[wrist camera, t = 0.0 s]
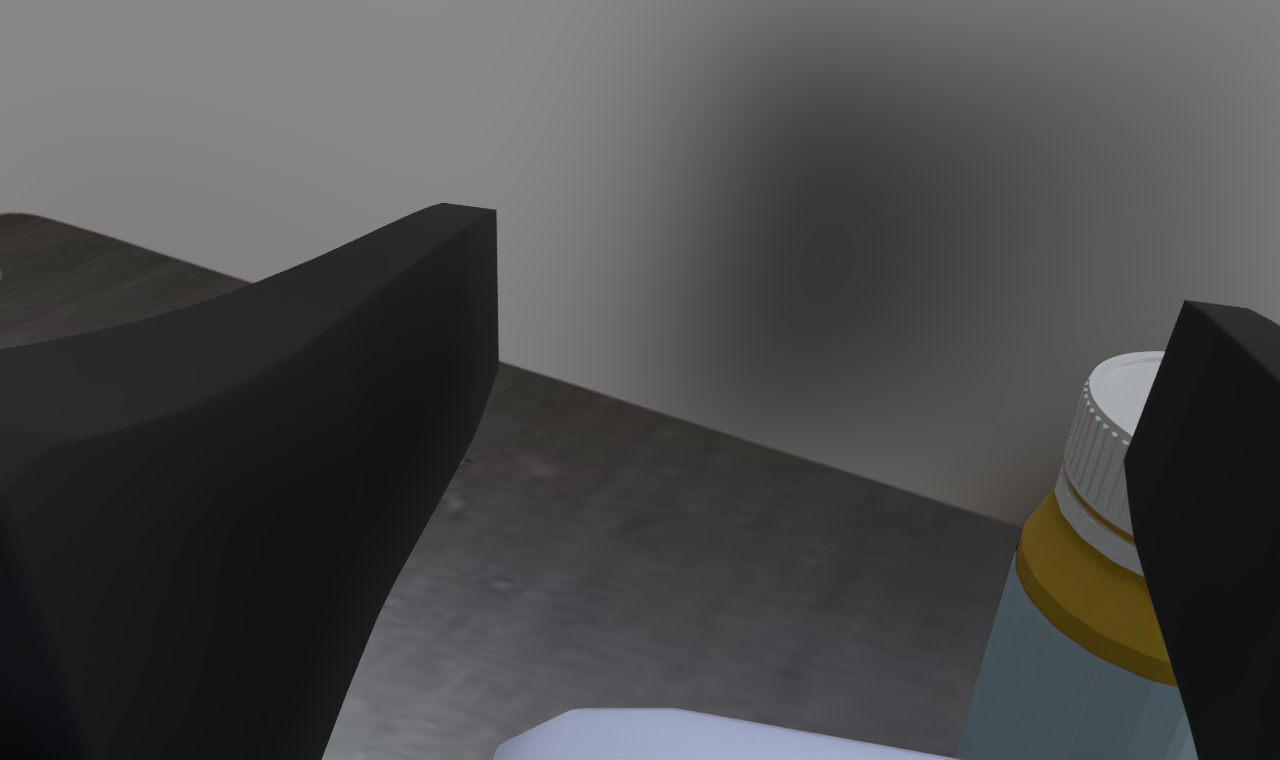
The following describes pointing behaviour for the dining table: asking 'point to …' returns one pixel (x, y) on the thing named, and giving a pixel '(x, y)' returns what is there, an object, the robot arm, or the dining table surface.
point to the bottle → (1081, 610)
